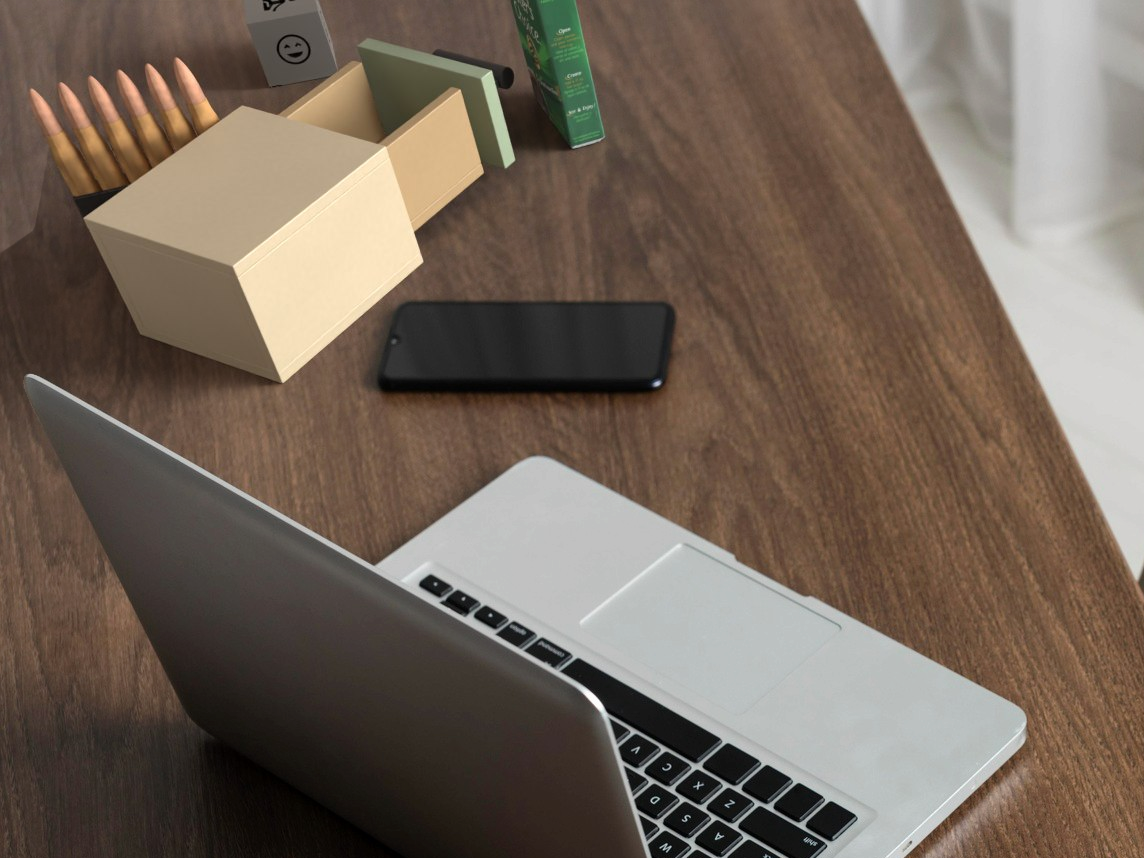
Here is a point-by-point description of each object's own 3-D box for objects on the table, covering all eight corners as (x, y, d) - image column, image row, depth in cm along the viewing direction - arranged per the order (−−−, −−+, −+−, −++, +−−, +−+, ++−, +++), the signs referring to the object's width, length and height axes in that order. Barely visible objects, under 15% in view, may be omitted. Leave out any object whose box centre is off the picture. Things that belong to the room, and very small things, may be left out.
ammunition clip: (271, 216, 115) (192, 47, 107) (269, 230, 114) (189, 60, 105) (109, 252, 114) (16, 85, 106) (106, 267, 113) (11, 99, 104)
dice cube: (264, 55, 130) (241, -8, 127) (332, 42, 131) (311, -21, 128) (270, 87, 127) (246, 24, 123) (339, 74, 128) (317, 11, 124)
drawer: (433, 97, 124) (407, 8, 119) (552, 129, 121) (530, 39, 116) (275, 220, 114) (239, 129, 109) (400, 259, 111) (369, 167, 106)
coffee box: (531, 99, 125) (487, -78, 116) (568, 88, 126) (528, -88, 116) (569, 151, 121) (527, -28, 111) (607, 140, 122) (569, -39, 112)
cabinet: (286, 219, 116) (241, 104, 110) (423, 262, 113) (386, 145, 106) (139, 334, 108) (82, 217, 102) (282, 384, 105) (232, 266, 98)
